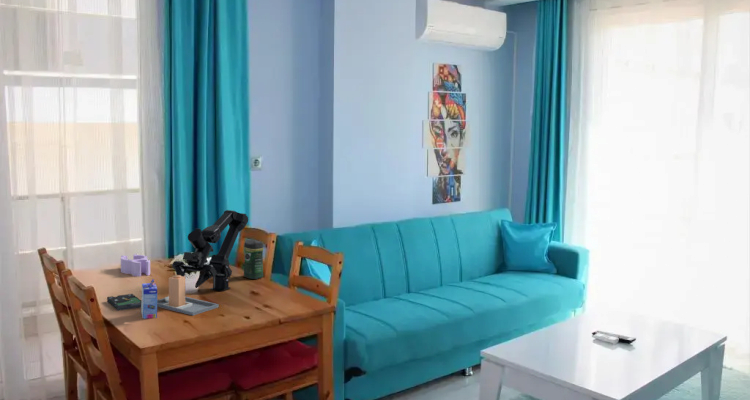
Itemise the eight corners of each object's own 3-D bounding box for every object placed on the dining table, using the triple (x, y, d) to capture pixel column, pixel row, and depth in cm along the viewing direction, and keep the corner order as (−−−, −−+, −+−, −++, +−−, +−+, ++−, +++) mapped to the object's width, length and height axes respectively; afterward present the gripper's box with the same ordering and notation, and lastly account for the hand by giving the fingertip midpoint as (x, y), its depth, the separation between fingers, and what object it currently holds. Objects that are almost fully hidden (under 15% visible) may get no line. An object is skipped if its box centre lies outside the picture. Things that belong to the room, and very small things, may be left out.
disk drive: (106, 303, 267) (117, 312, 255) (106, 296, 266) (117, 305, 255) (132, 299, 273) (144, 307, 262) (131, 293, 273) (144, 301, 261)
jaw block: (175, 304, 264) (175, 274, 263) (185, 305, 263) (185, 275, 261) (168, 307, 260) (168, 276, 258) (178, 308, 258) (178, 277, 257)
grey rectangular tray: (150, 306, 262) (150, 299, 262) (176, 299, 274) (176, 292, 274) (192, 317, 250) (192, 310, 250) (218, 309, 262) (218, 302, 262)
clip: (156, 274, 316) (156, 260, 315) (131, 277, 307) (131, 263, 307) (141, 266, 331) (140, 253, 330) (116, 269, 322) (116, 256, 322)
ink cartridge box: (158, 319, 246) (157, 282, 244) (142, 321, 244) (142, 283, 242) (155, 312, 255) (155, 276, 253) (140, 313, 253) (140, 277, 251)
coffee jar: (265, 278, 315) (266, 240, 313) (252, 280, 310) (252, 242, 308) (254, 274, 322) (255, 237, 320) (241, 276, 317) (241, 239, 315)
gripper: (174, 242, 272) (158, 273, 263) (212, 246, 266) (197, 278, 257) (185, 256, 280) (170, 287, 272) (223, 260, 275) (208, 292, 266)
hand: (186, 286), depth 266 cm, fingers open, 9 cm apart
